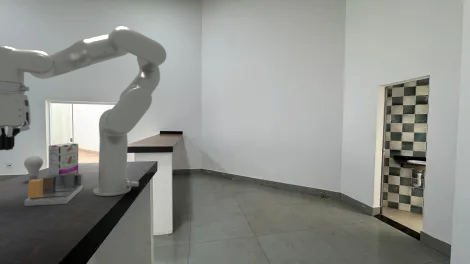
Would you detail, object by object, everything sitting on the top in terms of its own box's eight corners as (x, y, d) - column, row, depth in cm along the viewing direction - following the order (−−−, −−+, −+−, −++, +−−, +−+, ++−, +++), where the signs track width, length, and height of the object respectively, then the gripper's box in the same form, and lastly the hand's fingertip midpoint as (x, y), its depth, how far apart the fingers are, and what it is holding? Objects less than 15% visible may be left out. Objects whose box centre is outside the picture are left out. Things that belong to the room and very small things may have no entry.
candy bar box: (67, 179, 105) (68, 142, 105) (78, 180, 105) (79, 143, 105) (47, 186, 94) (47, 145, 93) (59, 186, 94) (60, 145, 93)
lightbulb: (21, 183, 95) (21, 156, 95) (27, 180, 101) (27, 154, 101) (39, 183, 98) (40, 156, 97) (44, 179, 103) (45, 154, 103)
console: (82, 188, 93) (83, 170, 93) (66, 203, 76) (67, 181, 76) (49, 189, 89) (49, 171, 89) (24, 206, 72) (24, 183, 72)
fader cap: (42, 195, 76) (42, 179, 76) (39, 197, 74) (39, 180, 74) (32, 195, 75) (32, 179, 75) (28, 197, 73) (28, 181, 73)
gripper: (42, 92, 77) (41, 148, 78) (-17, 88, 72) (-18, 148, 73) (31, 89, 70) (30, 151, 71) (-36, 84, 65) (-36, 151, 66)
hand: (6, 149), depth 72 cm, fingers closed
